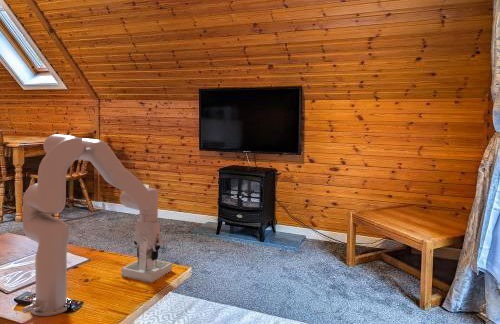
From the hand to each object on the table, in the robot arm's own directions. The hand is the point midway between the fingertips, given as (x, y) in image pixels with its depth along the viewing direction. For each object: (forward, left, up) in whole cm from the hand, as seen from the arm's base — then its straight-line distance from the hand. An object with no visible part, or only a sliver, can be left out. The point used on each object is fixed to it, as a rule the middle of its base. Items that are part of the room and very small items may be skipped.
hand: (147, 257), depth 166 cm
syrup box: (0, 0, -5) cm, 5 cm away
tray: (0, 0, -7) cm, 7 cm away
